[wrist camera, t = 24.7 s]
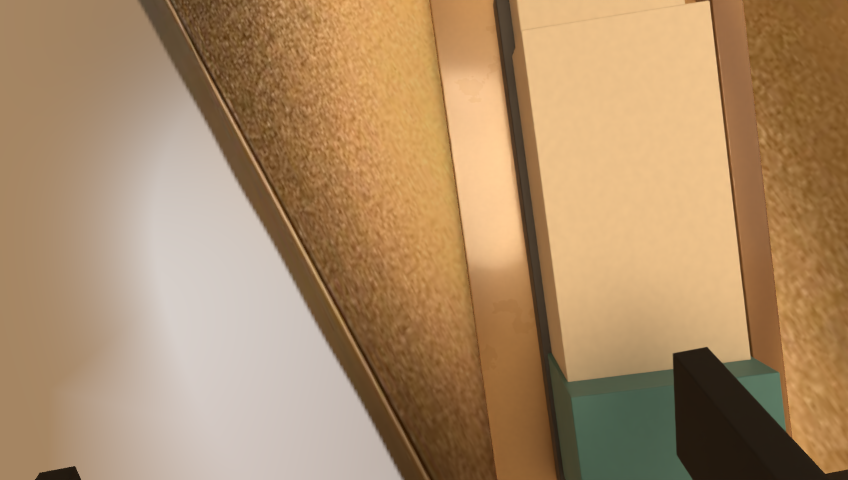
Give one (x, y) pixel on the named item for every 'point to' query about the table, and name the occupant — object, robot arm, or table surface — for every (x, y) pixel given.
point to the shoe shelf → (504, 238)
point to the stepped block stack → (624, 222)
